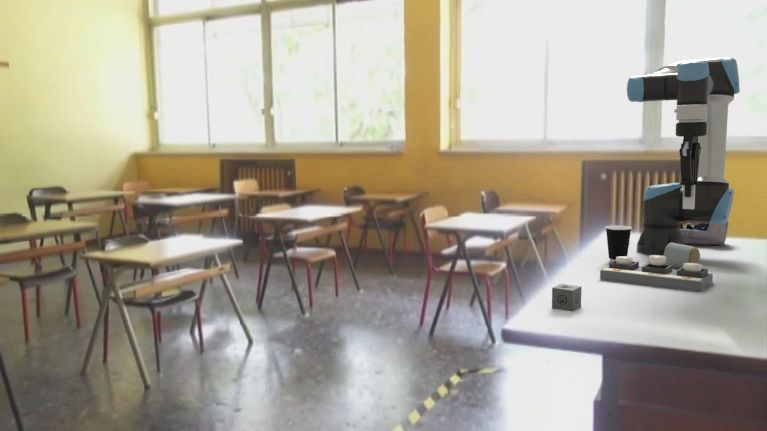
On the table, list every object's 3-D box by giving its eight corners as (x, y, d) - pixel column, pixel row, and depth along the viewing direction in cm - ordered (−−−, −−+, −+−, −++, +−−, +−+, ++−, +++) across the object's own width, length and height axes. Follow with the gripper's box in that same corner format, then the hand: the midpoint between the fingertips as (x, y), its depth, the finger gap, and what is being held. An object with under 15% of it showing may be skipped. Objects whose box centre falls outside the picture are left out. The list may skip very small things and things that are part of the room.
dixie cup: (634, 263, 200) (635, 228, 199) (608, 263, 201) (609, 228, 199) (626, 259, 208) (627, 225, 207) (601, 259, 209) (602, 225, 207)
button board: (615, 271, 189) (615, 258, 188) (712, 282, 172) (713, 268, 172) (600, 279, 180) (600, 265, 179) (700, 291, 163) (701, 276, 163)
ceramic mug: (690, 273, 185) (691, 246, 184) (662, 269, 191) (663, 243, 190) (705, 268, 192) (706, 242, 191) (677, 264, 198) (678, 240, 197)
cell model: (730, 217, 224) (667, 216, 232) (729, 247, 225) (667, 246, 233) (727, 212, 235) (667, 212, 244) (727, 241, 237) (667, 240, 245)
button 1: (619, 262, 186) (619, 255, 185) (634, 264, 183) (634, 257, 183) (613, 264, 182) (613, 258, 182) (629, 266, 179) (629, 259, 179)
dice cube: (560, 304, 154) (561, 283, 153) (581, 307, 151) (581, 286, 150) (551, 308, 150) (552, 287, 150) (572, 312, 147) (572, 290, 146)
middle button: (651, 261, 180) (651, 254, 180) (668, 263, 177) (668, 256, 177) (646, 264, 176) (646, 257, 176) (663, 266, 174) (663, 258, 173)
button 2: (685, 269, 174) (686, 262, 174) (703, 271, 171) (703, 264, 171) (681, 272, 171) (681, 264, 171) (699, 274, 168) (699, 266, 168)
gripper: (682, 121, 180) (680, 205, 183) (669, 122, 170) (667, 211, 173) (712, 120, 175) (709, 206, 178) (700, 121, 165) (697, 212, 168)
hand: (688, 208), depth 176 cm, fingers closed
